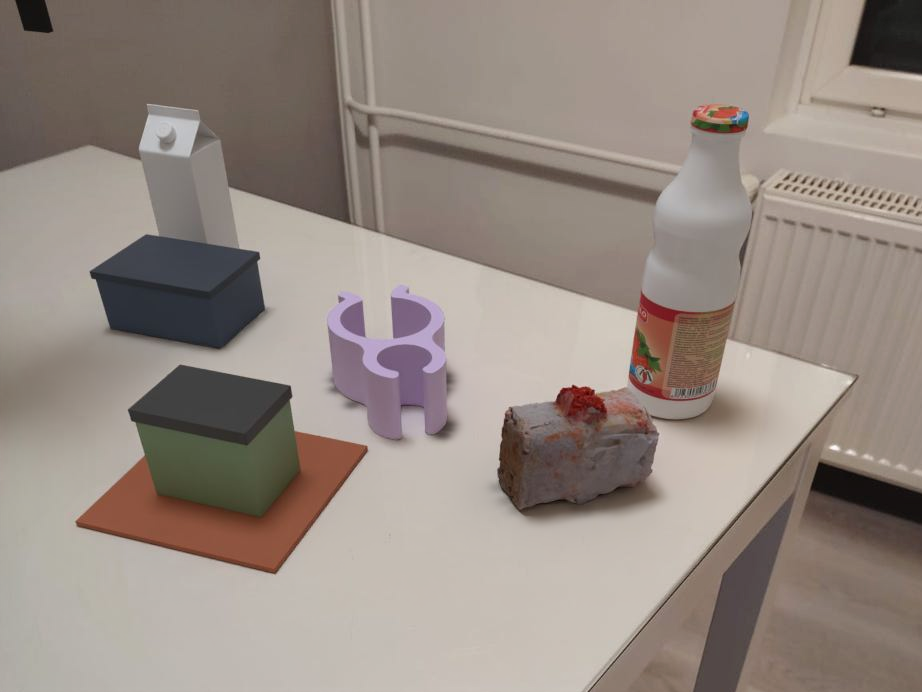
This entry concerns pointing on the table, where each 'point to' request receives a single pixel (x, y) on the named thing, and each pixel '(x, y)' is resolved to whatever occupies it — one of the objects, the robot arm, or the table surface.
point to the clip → (391, 361)
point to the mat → (224, 531)
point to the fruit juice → (692, 271)
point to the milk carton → (186, 177)
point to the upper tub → (218, 439)
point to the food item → (575, 446)
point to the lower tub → (181, 290)
